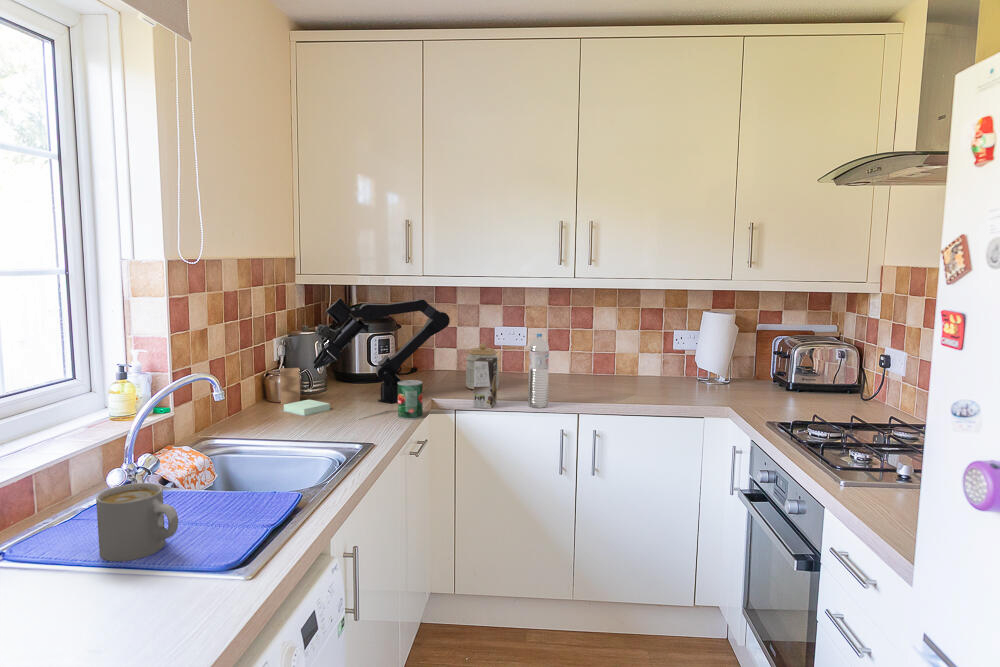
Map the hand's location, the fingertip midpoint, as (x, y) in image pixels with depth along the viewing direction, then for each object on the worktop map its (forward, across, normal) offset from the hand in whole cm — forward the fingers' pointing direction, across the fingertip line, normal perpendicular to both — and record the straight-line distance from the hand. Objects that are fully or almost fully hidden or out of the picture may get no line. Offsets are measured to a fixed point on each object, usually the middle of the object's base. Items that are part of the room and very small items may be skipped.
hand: (314, 365), depth 221 cm
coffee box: (-30, +14, +49) cm, 59 cm away
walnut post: (+15, 0, +4) cm, 16 cm away
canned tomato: (-11, +23, +30) cm, 39 cm away
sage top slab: (+10, +13, +7) cm, 18 cm away
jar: (-35, -14, +54) cm, 66 cm away
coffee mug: (+32, +106, -12) cm, 111 cm away
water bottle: (-42, +19, +61) cm, 77 cm away
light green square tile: (+12, +13, +8) cm, 19 cm away
